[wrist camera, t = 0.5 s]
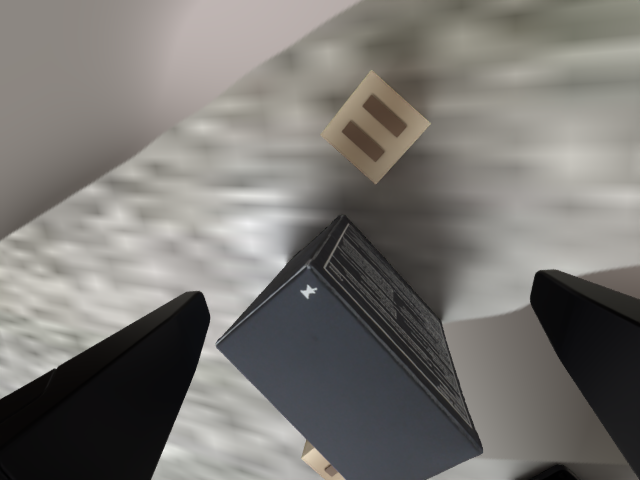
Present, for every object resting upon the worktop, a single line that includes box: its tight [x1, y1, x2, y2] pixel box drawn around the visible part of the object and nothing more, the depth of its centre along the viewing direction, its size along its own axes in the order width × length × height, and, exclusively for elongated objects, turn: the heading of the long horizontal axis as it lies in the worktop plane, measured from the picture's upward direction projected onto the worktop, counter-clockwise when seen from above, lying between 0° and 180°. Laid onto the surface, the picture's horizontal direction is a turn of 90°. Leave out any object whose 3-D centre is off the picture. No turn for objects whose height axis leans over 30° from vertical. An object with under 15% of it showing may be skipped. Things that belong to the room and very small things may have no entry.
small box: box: [215, 215, 483, 480], centre depth 18 cm, size 11×6×10 cm, turn 43°
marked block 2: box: [301, 439, 345, 480], centre depth 24 cm, size 4×4×4 cm
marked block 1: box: [320, 70, 431, 185], centre depth 18 cm, size 4×4×4 cm
